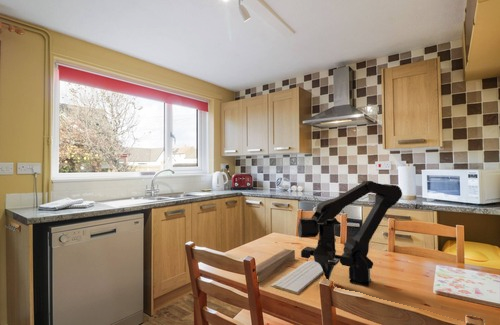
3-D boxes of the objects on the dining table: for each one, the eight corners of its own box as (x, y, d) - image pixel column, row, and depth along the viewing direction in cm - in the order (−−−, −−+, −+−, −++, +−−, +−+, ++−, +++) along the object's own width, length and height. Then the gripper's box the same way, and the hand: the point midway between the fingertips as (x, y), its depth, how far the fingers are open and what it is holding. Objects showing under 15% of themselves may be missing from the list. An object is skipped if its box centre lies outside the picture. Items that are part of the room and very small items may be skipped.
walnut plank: (294, 258, 121) (294, 250, 121) (258, 283, 95) (257, 272, 95) (285, 256, 124) (285, 248, 124) (247, 280, 98) (246, 270, 98)
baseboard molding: (267, 286, 94) (297, 296, 86) (267, 278, 94) (297, 287, 86) (305, 262, 118) (330, 267, 111) (305, 255, 118) (330, 261, 111)
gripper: (294, 238, 94) (295, 281, 94) (347, 246, 84) (348, 294, 83) (306, 231, 103) (307, 271, 103) (355, 238, 93) (356, 282, 92)
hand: (327, 279), depth 95 cm, fingers closed
